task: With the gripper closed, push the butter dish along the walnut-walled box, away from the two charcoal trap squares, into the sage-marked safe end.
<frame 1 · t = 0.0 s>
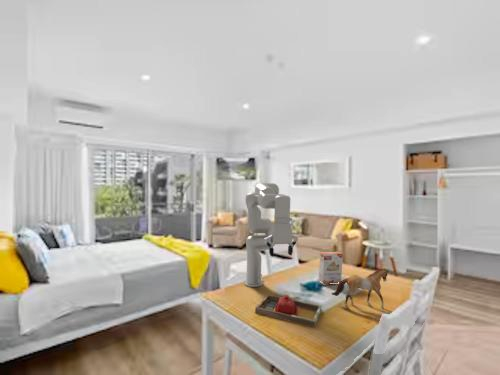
hand: (280, 255, 133), 31 cm above the table, tool pointing down, fingers open, 9 cm apart
horse figurine: (358, 304, 152), on the table
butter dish: (286, 312, 141), resting in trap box
cracker box: (329, 283, 181), on the table
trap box: (288, 311, 140), on the table
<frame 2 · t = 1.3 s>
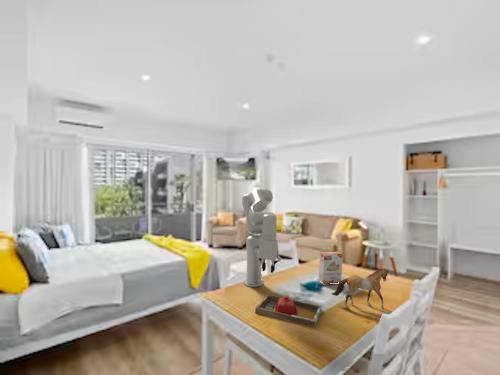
hand: (268, 271, 145), 19 cm above the table, tool pointing down, fingers open, 4 cm apart
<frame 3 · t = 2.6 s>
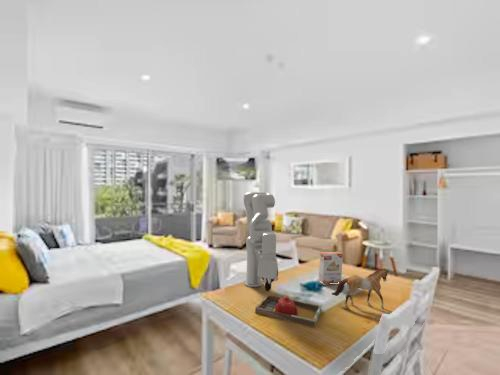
hand: (267, 290, 144), 9 cm above the table, tool pointing down, fingers closed
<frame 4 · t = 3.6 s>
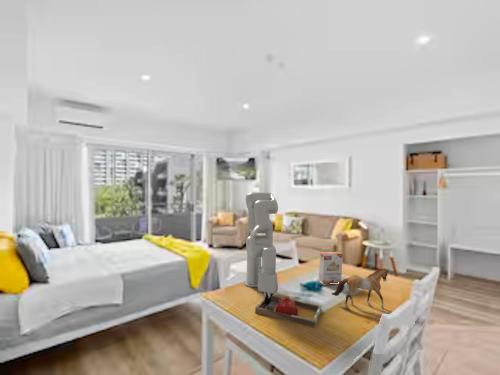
hand: (267, 303, 145), 2 cm above the table, tool pointing down, fingers closed
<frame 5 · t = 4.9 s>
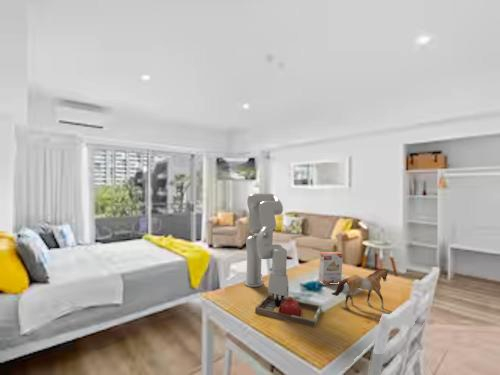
hand: (277, 306, 143), 2 cm above the table, tool pointing down, fingers closed
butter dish: (289, 314, 139), resting in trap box, touching gripper
everything else where it was.
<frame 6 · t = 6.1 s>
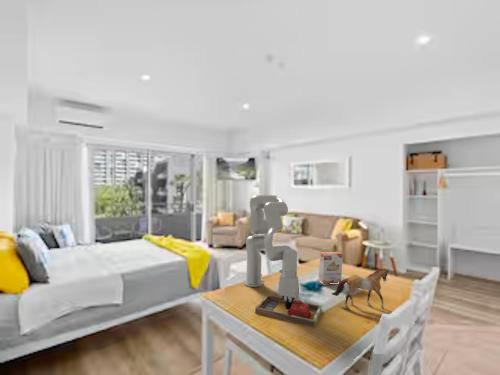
hand: (288, 308, 140), 2 cm above the table, tool pointing down, fingers closed
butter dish: (299, 317, 136), resting in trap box
everything else where it was.
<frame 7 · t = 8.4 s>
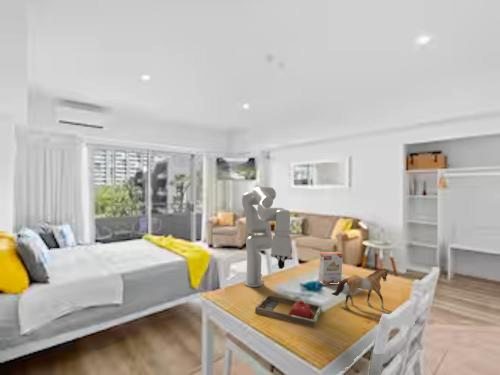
hand: (281, 268, 142), 22 cm above the table, tool pointing down, fingers closed
nothing on the table moved.
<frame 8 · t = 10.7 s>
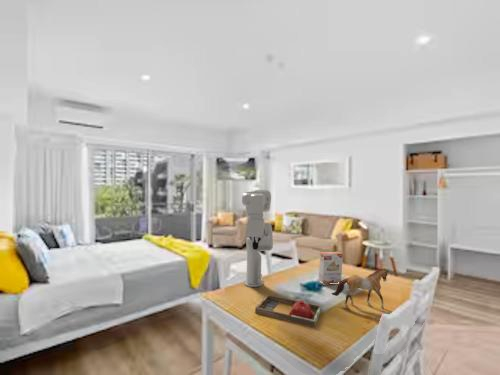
hand: (255, 248, 152), 29 cm above the table, tool pointing down, fingers closed
nothing on the table moved.
at the end: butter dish inside the target area (2.3 cm from its centre), resting in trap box; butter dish tilted 0°; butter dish moved 8.9 cm from its start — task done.
